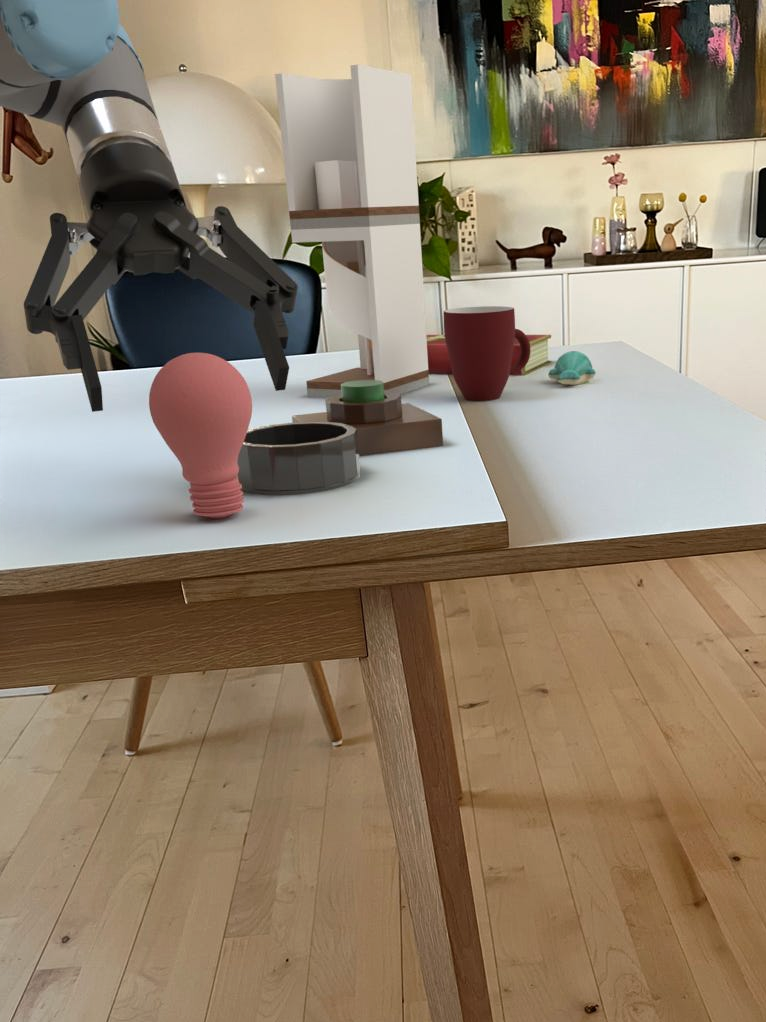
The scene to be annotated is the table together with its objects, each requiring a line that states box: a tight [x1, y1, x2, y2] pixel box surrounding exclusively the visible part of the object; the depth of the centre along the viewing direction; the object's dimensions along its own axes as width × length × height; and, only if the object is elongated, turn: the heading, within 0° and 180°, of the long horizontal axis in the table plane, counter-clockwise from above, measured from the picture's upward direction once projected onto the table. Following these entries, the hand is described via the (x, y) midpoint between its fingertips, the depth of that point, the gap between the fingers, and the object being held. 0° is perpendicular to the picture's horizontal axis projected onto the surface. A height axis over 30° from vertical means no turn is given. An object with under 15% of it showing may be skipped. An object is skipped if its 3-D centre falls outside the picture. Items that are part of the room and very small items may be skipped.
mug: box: [443, 305, 530, 402], centre depth 120 cm, size 10×8×10 cm
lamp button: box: [341, 380, 385, 402], centre depth 98 cm, size 4×4×2 cm
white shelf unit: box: [274, 64, 430, 399], centre depth 123 cm, size 11×11×35 cm
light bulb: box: [148, 352, 253, 520], centre depth 75 cm, size 7×7×12 cm
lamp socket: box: [236, 422, 361, 496], centre depth 87 cm, size 10×10×4 cm
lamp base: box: [291, 392, 444, 457], centre depth 99 cm, size 12×10×4 cm
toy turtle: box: [548, 350, 597, 386], centre depth 128 cm, size 6×7×4 cm
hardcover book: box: [426, 334, 553, 376], centre depth 144 cm, size 12×21×4 cm, turn 69°
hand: (192, 389), depth 77 cm, fingers open, 13 cm apart
